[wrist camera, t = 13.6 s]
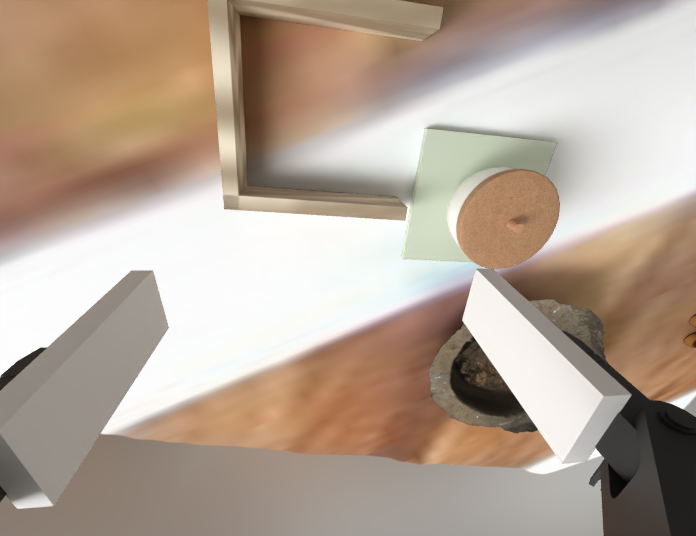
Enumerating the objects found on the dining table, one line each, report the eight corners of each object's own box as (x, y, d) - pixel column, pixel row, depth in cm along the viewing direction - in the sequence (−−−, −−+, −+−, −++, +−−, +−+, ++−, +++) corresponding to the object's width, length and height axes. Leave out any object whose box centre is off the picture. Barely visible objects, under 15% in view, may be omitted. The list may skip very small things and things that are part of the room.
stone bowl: (581, 355, 54) (624, 401, 46) (448, 406, 60) (466, 455, 52) (552, 246, 43) (602, 281, 35) (393, 320, 49) (404, 365, 41)
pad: (424, 128, 35) (427, 128, 34) (551, 141, 37) (557, 142, 36) (401, 256, 42) (403, 259, 41) (509, 261, 44) (512, 264, 43)
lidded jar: (524, 156, 37) (586, 168, 28) (508, 240, 42) (557, 271, 33) (437, 162, 36) (474, 177, 28) (431, 247, 41) (461, 280, 33)
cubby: (221, -8, 28) (204, -31, 24) (424, 22, 31) (443, 7, 26) (235, 197, 37) (224, 209, 32) (394, 208, 39) (405, 220, 35)
